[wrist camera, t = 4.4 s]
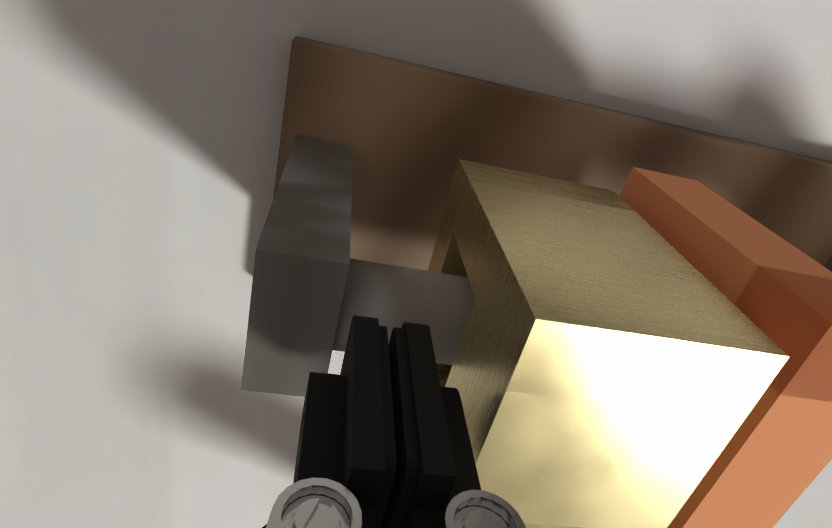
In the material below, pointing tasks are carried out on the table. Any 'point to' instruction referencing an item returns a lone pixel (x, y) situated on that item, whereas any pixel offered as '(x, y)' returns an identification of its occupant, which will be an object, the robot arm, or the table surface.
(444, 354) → the machine model on base
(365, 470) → the robot arm
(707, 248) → the orange rectangular slab
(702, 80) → the table surface
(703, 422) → the sleeve
